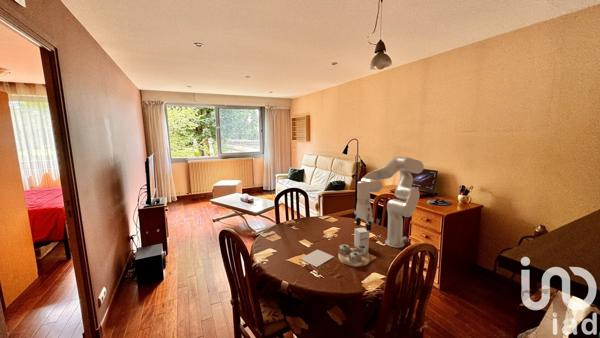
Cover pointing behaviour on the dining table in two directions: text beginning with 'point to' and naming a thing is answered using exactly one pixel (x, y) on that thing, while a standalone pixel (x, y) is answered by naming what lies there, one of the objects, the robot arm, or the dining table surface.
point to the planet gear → (362, 250)
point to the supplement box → (361, 237)
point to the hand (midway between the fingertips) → (363, 227)
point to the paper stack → (316, 258)
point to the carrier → (352, 256)
